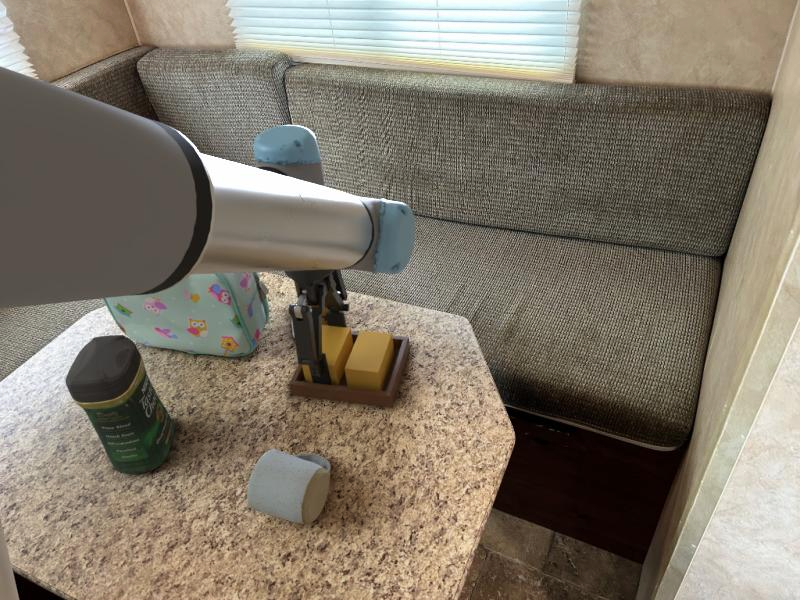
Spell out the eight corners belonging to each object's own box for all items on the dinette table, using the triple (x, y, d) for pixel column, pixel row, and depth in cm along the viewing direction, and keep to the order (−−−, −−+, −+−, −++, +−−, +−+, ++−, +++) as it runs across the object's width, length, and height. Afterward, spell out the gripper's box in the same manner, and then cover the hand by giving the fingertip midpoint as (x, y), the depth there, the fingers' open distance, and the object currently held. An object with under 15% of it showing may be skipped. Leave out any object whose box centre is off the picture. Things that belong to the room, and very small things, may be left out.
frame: (391, 408, 88) (389, 396, 87) (292, 395, 92) (288, 383, 90) (410, 348, 98) (408, 336, 96) (319, 339, 101) (316, 327, 100)
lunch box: (287, 324, 105) (259, 218, 91) (262, 367, 97) (228, 258, 84) (152, 309, 111) (107, 208, 97) (119, 348, 103) (66, 244, 90)
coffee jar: (167, 474, 83) (115, 380, 71) (109, 479, 83) (48, 386, 71) (182, 418, 90) (139, 325, 78) (130, 423, 90) (78, 331, 78)
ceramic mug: (312, 539, 73) (301, 502, 69) (253, 521, 76) (239, 485, 71) (346, 468, 81) (339, 431, 76) (292, 454, 84) (281, 417, 79)
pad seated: (381, 393, 90) (378, 372, 87) (348, 389, 91) (344, 368, 88) (394, 353, 96) (392, 333, 93) (363, 350, 97) (360, 330, 95)
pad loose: (338, 386, 91) (334, 365, 88) (305, 382, 92) (300, 362, 90) (354, 348, 97) (350, 327, 95) (323, 344, 99) (319, 324, 96)
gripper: (305, 295, 72) (334, 419, 86) (356, 203, 87) (372, 321, 102) (247, 290, 73) (284, 412, 88) (307, 201, 89) (330, 317, 103)
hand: (332, 363), depth 95 cm, fingers closed on pad loose, 8 cm apart
